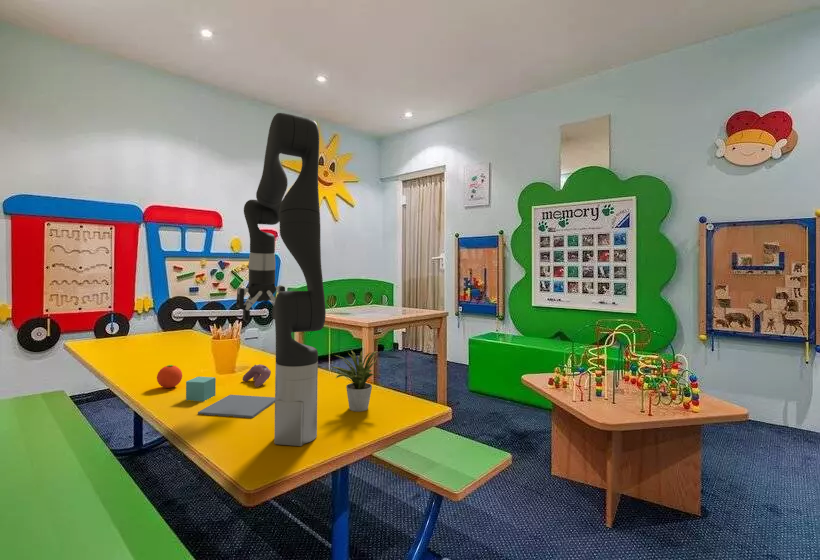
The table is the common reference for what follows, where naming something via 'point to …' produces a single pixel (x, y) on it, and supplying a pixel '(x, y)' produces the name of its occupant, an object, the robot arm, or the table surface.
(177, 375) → the tomato
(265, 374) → the video game controller
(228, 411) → the slate mat
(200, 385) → the teal cube
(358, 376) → the house plant
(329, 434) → the table surface
